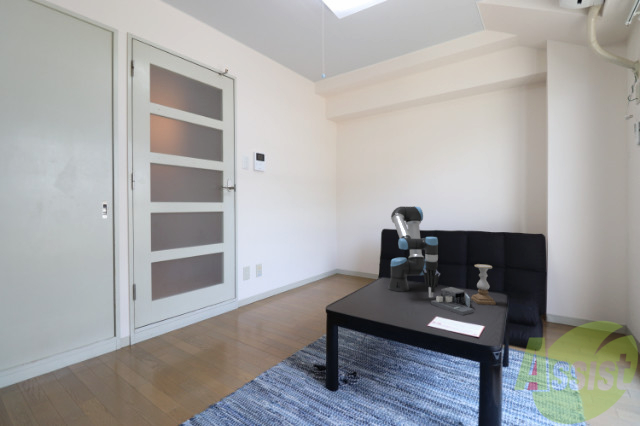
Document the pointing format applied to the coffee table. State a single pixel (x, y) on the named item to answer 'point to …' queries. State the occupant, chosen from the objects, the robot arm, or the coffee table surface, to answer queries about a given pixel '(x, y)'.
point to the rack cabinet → (454, 294)
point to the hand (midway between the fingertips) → (431, 296)
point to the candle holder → (483, 287)
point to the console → (453, 307)
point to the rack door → (467, 300)
